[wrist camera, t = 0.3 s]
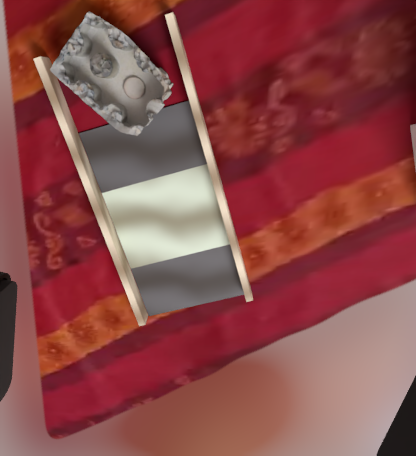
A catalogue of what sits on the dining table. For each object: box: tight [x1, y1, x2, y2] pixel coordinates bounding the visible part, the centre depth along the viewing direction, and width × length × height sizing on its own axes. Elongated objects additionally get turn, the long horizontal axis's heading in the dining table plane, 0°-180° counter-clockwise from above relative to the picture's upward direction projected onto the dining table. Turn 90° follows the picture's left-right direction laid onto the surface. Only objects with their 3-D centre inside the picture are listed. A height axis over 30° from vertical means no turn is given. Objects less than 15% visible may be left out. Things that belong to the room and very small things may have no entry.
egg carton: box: [50, 12, 173, 136], centre depth 39 cm, size 11×8×4 cm
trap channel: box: [34, 12, 253, 326], centre depth 43 cm, size 32×15×2 cm, turn 16°
